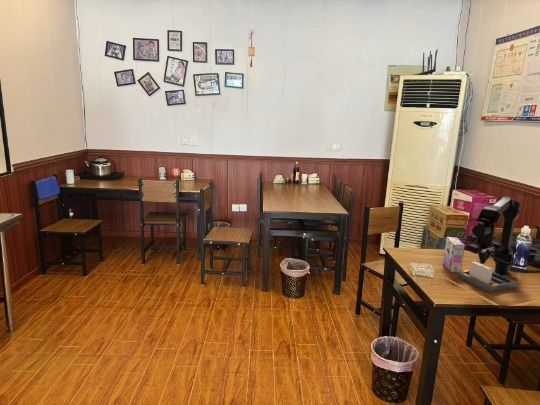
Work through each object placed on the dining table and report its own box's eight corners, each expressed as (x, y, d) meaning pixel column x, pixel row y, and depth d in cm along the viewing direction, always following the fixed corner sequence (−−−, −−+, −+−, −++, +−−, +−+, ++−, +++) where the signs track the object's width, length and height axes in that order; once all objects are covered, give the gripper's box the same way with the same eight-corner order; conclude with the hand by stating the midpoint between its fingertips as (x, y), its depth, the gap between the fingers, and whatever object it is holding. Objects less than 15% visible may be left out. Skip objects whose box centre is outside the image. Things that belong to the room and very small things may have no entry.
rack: (484, 275, 194) (485, 267, 193) (516, 289, 177) (518, 281, 176) (457, 279, 187) (458, 271, 186) (488, 295, 171) (489, 286, 170)
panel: (471, 279, 185) (474, 261, 183) (489, 288, 176) (492, 269, 174) (468, 280, 184) (471, 261, 182) (485, 288, 175) (489, 269, 173)
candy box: (460, 274, 194) (465, 245, 190) (449, 273, 195) (453, 244, 191) (453, 264, 207) (457, 237, 203) (442, 263, 208) (446, 236, 204)
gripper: (486, 227, 185) (481, 256, 188) (458, 230, 178) (454, 259, 182) (507, 233, 174) (501, 264, 178) (478, 237, 168) (473, 268, 172)
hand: (481, 263), depth 178 cm, fingers closed
